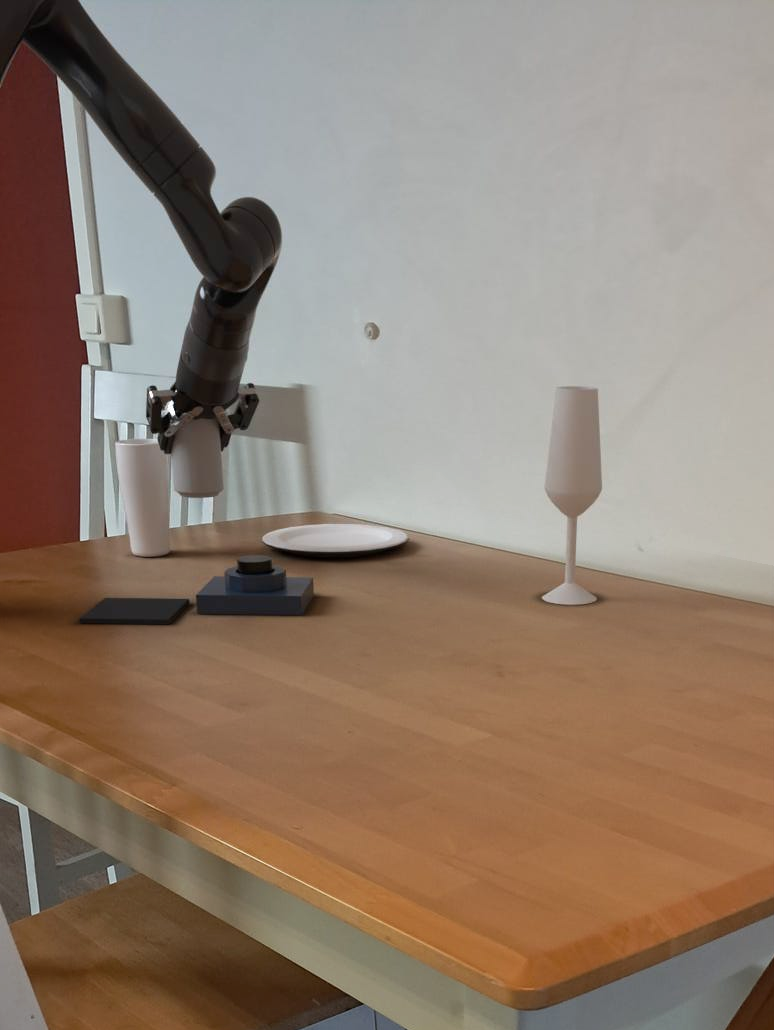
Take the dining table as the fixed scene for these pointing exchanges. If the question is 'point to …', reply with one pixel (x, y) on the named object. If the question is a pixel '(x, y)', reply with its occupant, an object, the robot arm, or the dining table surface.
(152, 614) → the coaster
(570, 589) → the champagne flute
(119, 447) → the drinking glass
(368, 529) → the plate
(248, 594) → the button box
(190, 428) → the beverage can
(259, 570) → the button
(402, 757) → the dining table surface
